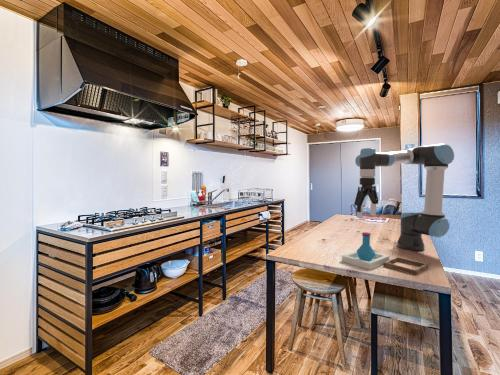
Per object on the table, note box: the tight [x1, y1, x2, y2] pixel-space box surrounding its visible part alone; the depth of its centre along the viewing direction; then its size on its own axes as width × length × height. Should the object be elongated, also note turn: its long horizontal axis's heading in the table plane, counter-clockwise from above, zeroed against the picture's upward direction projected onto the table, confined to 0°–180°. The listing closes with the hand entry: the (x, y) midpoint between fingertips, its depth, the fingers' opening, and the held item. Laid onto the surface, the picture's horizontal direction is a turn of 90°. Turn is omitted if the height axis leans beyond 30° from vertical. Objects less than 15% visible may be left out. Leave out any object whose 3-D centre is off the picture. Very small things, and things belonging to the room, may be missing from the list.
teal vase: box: [356, 231, 376, 262], centre depth 142 cm, size 9×9×15 cm
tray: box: [341, 250, 391, 271], centre depth 142 cm, size 20×16×3 cm
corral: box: [383, 256, 429, 276], centre depth 133 cm, size 15×15×2 cm
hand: (366, 216), depth 141 cm, fingers open, 13 cm apart
